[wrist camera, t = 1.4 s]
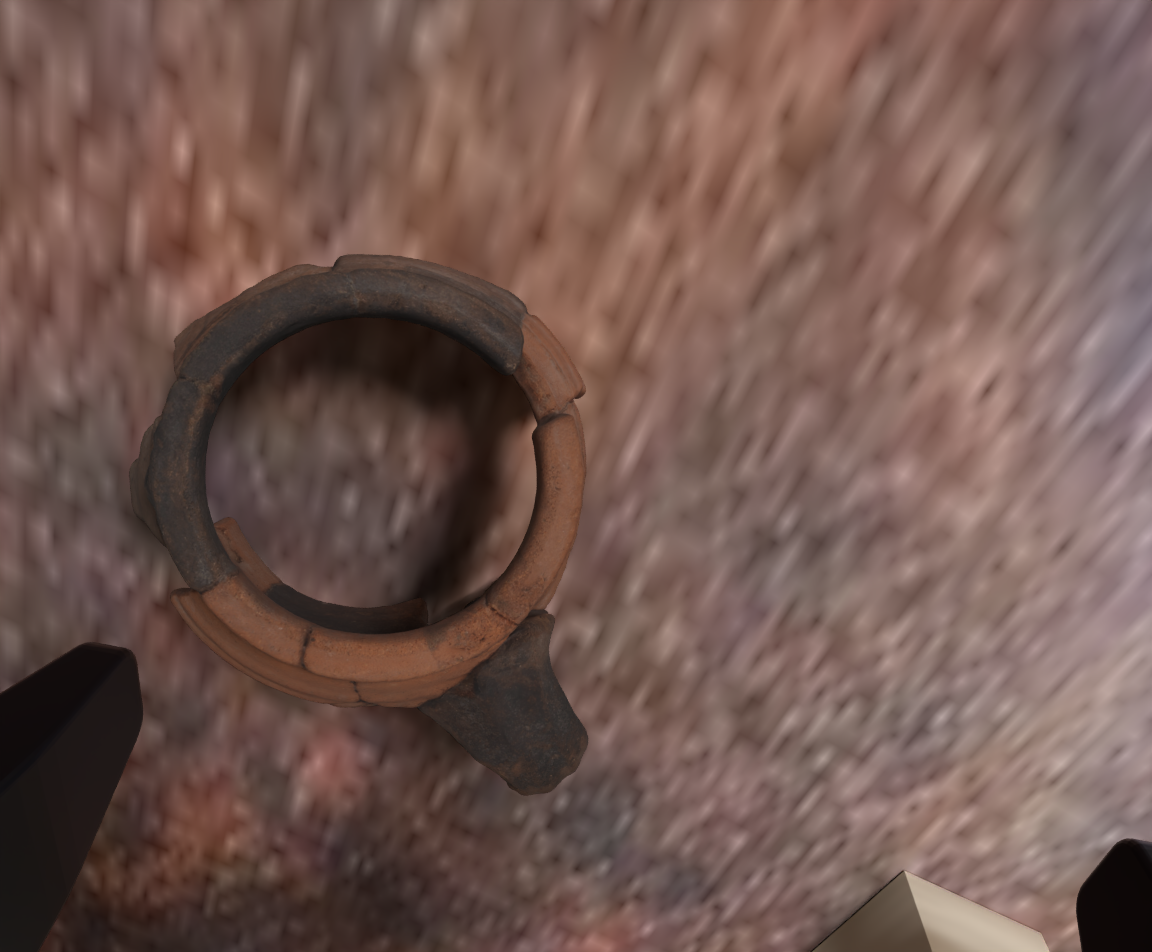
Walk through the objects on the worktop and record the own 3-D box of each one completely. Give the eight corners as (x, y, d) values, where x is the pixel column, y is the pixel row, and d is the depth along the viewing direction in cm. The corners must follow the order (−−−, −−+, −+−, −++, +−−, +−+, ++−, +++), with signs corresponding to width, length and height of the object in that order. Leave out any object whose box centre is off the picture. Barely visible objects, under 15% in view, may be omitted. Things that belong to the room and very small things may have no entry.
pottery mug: (106, 457, 23) (-43, 449, 15) (413, 222, 25) (427, 100, 17) (427, 819, 25) (448, 988, 17) (699, 579, 26) (840, 627, 18)
